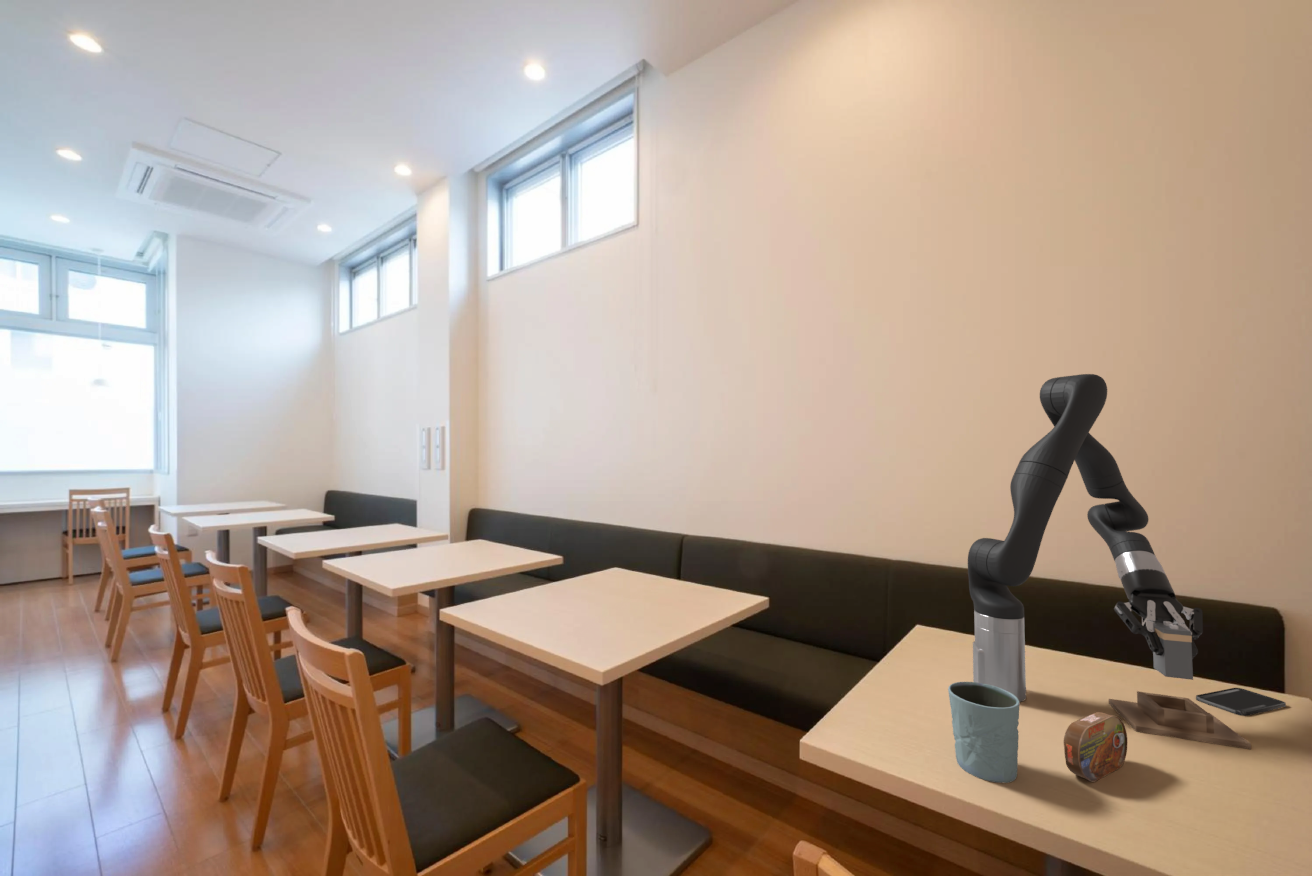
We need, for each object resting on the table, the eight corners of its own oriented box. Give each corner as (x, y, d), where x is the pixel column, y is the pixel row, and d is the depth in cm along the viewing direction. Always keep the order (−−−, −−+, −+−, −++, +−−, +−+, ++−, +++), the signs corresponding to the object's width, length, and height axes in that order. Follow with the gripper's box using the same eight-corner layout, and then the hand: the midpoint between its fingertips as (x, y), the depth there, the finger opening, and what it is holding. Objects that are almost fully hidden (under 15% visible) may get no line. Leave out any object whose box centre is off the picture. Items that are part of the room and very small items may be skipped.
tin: (1082, 788, 81) (1081, 733, 82) (1060, 777, 84) (1058, 724, 85) (1130, 763, 88) (1129, 712, 88) (1107, 754, 91) (1106, 704, 91)
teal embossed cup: (1023, 793, 80) (1021, 714, 80) (947, 772, 85) (946, 697, 86) (1019, 761, 89) (1017, 689, 89) (950, 743, 94) (949, 676, 94)
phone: (1193, 695, 112) (1237, 687, 116) (1193, 701, 112) (1238, 692, 116) (1243, 713, 104) (1289, 703, 108) (1243, 719, 104) (1289, 708, 108)
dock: (1136, 731, 98) (1135, 709, 99) (1108, 703, 109) (1108, 684, 110) (1251, 749, 92) (1250, 726, 93) (1209, 718, 104) (1208, 697, 104)
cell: (1165, 676, 100) (1163, 626, 100) (1153, 667, 104) (1151, 619, 105) (1193, 680, 98) (1191, 628, 99) (1180, 670, 103) (1177, 621, 103)
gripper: (1106, 565, 112) (1135, 641, 100) (1193, 570, 107) (1234, 651, 95) (1096, 584, 117) (1123, 659, 105) (1179, 590, 111) (1217, 669, 100)
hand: (1176, 655), depth 100 cm, fingers closed on cell, 4 cm apart
